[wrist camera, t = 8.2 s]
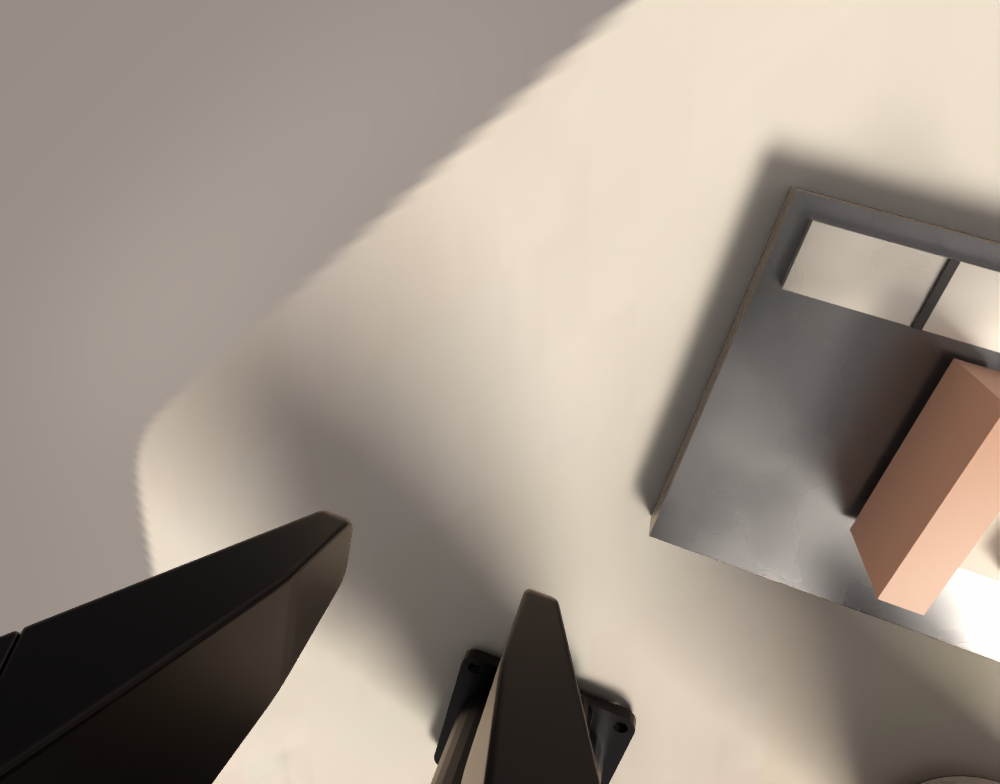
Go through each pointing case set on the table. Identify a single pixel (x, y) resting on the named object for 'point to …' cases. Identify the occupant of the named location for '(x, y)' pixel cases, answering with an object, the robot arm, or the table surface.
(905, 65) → the table surface
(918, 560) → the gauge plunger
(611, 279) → the table surface
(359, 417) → the table surface
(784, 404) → the frame
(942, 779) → the beverage can
